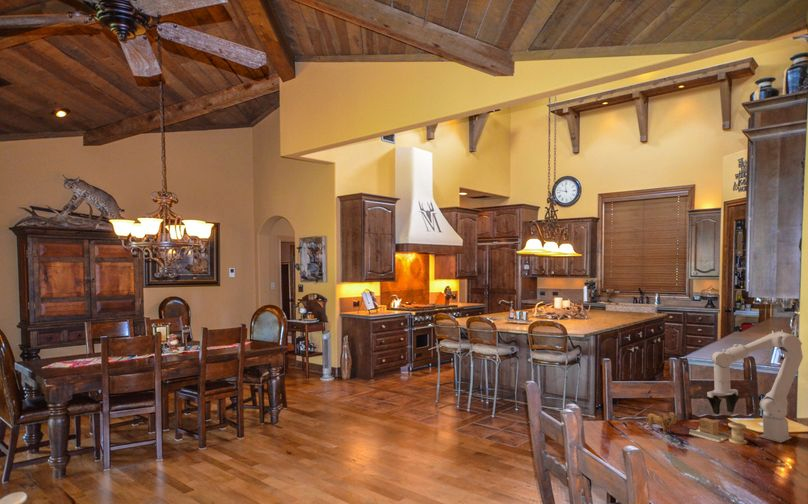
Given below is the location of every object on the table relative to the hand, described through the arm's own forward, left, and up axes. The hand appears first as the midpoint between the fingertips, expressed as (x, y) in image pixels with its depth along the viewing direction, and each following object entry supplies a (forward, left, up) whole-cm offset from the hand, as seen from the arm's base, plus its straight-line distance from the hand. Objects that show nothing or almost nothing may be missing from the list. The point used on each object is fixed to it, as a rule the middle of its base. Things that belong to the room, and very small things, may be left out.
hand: (723, 412), depth 207 cm
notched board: (+6, -3, -9) cm, 12 cm away
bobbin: (+4, +7, -9) cm, 12 cm away
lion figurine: (+16, -18, -10) cm, 26 cm away
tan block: (+6, -3, -9) cm, 11 cm away
